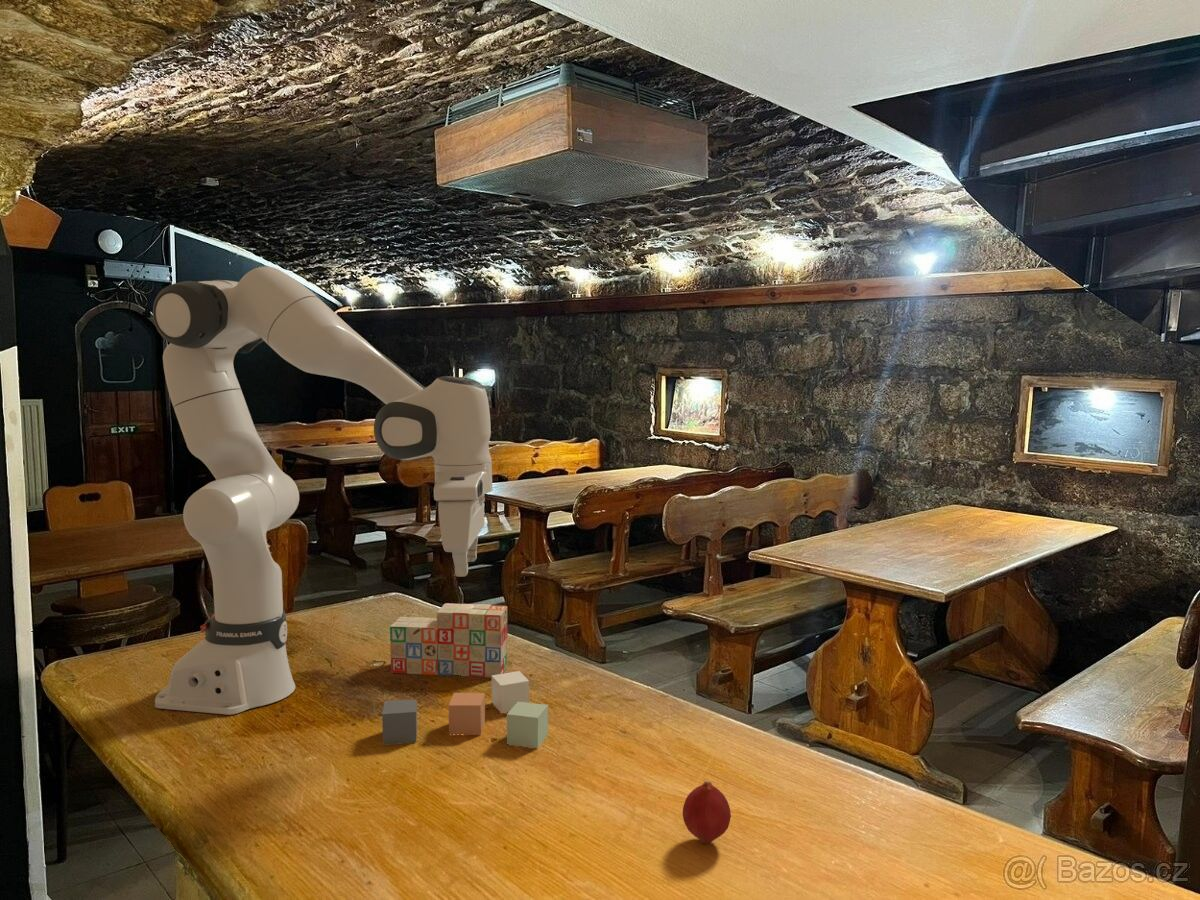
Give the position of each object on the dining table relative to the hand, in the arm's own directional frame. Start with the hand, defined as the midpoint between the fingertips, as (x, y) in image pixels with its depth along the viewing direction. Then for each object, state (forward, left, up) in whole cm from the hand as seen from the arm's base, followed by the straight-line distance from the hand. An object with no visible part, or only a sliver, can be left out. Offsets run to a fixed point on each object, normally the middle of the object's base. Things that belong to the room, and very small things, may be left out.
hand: (466, 568), depth 132 cm
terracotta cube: (0, 0, -26) cm, 26 cm away
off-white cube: (+6, +9, -26) cm, 28 cm away
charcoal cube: (-10, -3, -26) cm, 28 cm away
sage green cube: (+10, -4, -26) cm, 28 cm away
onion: (+34, -32, -26) cm, 54 cm away
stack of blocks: (-7, +26, -27) cm, 38 cm away
